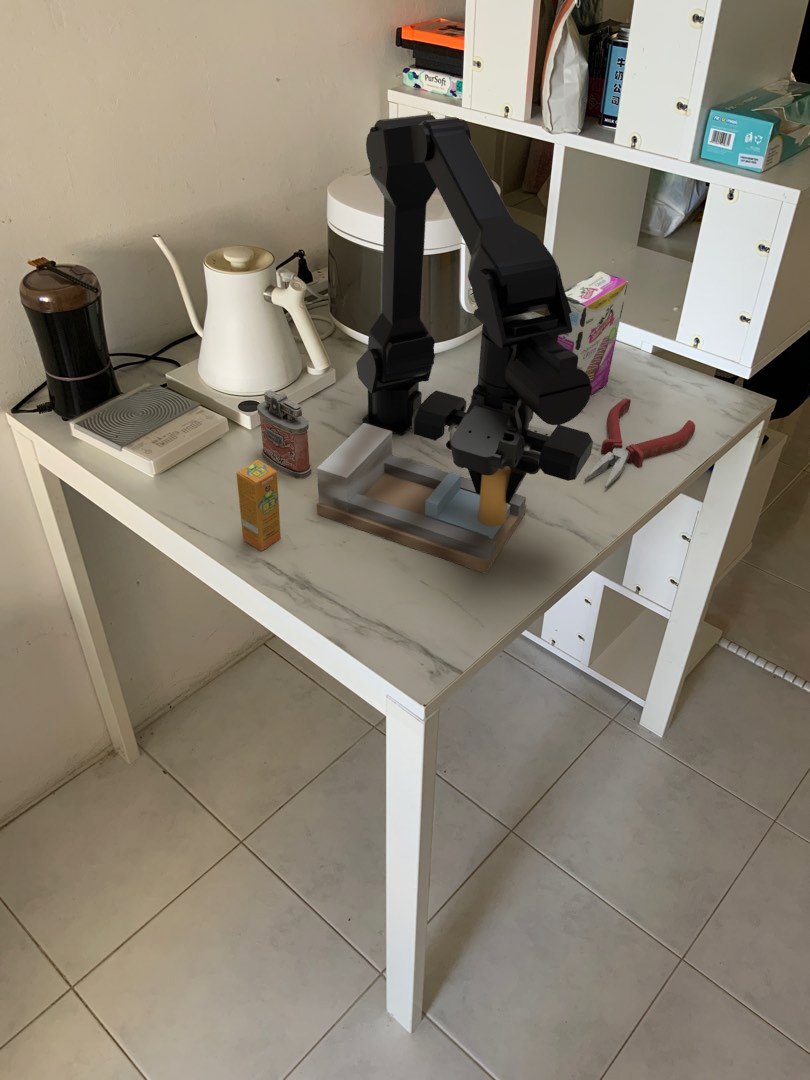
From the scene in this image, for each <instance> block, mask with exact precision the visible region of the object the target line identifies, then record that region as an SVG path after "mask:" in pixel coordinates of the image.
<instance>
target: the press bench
mask: <svg viewBox="0 0 810 1080" xmlns="http://www.w3.org/2000/svg"><path fill="white" fill-rule="evenodd" d="M448 473H449V472H448V471H445V470H441V469H438V468H436V467H432V466H429V465H425V464H423V463H419V462H416V461H412V460H409V459H407V458H403V457H401V456H396V455H393V432H392V431H389V430H386V429H383V428H379V427H376V426H373V425H369V424H366V423H362V424H361V425H360V426H358V428H356V429H355V431H354V432H353V433H352V434H350V435H349V437H347V438H346V439H345V440H344V441H343V442H342V443H341V444H340V445H339V446H338V447H337V448H336V449H335V450H334V451H333V452H332V453H331V454H330V455H329V456H328V457H327V458H326V459H325V460H323V462H321V463H320V465H318V466H317V468H316V476H317V492H318V502H317V503H316V512H317V513H316V514H317V516H318V515H319V516H321V517H323V518H324V517H325V518H327V519H330V520H333V521H335V522H338V523H341V524H344V525H347V526H349V527H353V528H355V529H358V530H360V531H363V532H367V533H370V534H372V535H375V536H377V537H381V538H383V539H387V540H389V541H391V542H395V543H398V544H401V545H403V546H405V547H409V548H411V549H414V550H418V551H420V552H423V553H426V554H428V555H431V556H434V557H438V558H440V559H443V560H445V561H449V562H452V563H454V564H458V565H460V566H462V567H465V568H469V569H472V570H475V571H477V572H480V573H483V574H486V573H488V570H489V569H490V567H491V566H492V564H493V563H494V561H495V560H496V558H497V557H498V555H499V553H501V551H502V549H503V548H504V546H505V545H506V543H507V542H508V540H509V539H510V538H511V535H512V534H513V533H514V531H515V530H516V529H517V527H518V525H519V524H520V522H522V519H523V518H524V516H525V515H526V510H527V504H526V499H527V497H526V496H524V495H521V494H518V493H515V495H514V497H513V499H512V500H511V502H510V503H509V505H511V507H510V514H509V516H508V517H507V519H506V521H505V522H504V523H503V525H502V526H501V527H500V529H499V530H498V532H497V533H496V535H495V536H494V538H493V539H491V538H488V537H485V536H482V535H479V534H476V533H473V532H470V531H467V530H464V529H461V528H458V527H455V526H452V525H449V524H446V523H443V522H440V521H437V520H434V519H432V518H429V517H426V516H425V505H426V500H427V499H428V497H429V496H430V495H431V494H432V493H433V491H434V490H435V489H436V488H437V487H438V485H439V484H440V483H441V482H442V480H443V479H444V478H445V477H446V476H447V474H448ZM460 489H462V490H465V491H469V492H472V493H475V494H477V493H476V491H475V488H474V485H473V482H472V480H471V478H467V477H463V476H461V486H460ZM478 495H480V494H478Z"/></svg>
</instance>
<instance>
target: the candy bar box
mask: <svg viewBox="0 0 810 1080" xmlns="http://www.w3.org/2000/svg"><path fill="white" fill-rule="evenodd" d="M628 285H629V280H626V279H623V278H621V277H618V276H615V275H612V274H609V273H605V272H603V271H597V272H596V273H594V274H593V275H590V276H589V277H587V278H585V279H584V280H582V281H579V282H578V283H576V284H574V285H572V286H571V287H569V288H567V289H564V290H565V293H566V296H567V299H568V302H569V305H570V308H571V311H572V313H571V314H569V316H570V320H571V325H572V332H571V333H568V334H563V335H559V336H558V341H557V342H558V343H560V344H561V345H562V346H563V347H565V348H566V349H569V350H571V351H572V352H573V353H575V354H576V355H577V356H578V365H577V366H578V367H579V368H581V369H582V370H583V371H584V372H585V373H586V374H587V375H588V377H589V379H590V383H591V386H592V392H591V395H590V397H591V396H592V395H593V394H595V393H596V392H598V391H599V390H601V389H602V388H603V387H604V386H606V385H607V384H608V380H609V375H610V370H611V366H612V360H613V356H614V351H615V350H614V349H615V345H616V341H617V338H618V337H617V336H618V332H619V331H618V330H619V327H620V322H621V318H622V313H623V307H624V304H625V303H624V302H625V299H626V293H627V288H628Z"/></svg>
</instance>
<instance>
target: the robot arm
mask: <svg viewBox="0 0 810 1080" xmlns="http://www.w3.org/2000/svg"><path fill="white" fill-rule="evenodd" d="M366 136H367V137H366V139H365V140H366V141H365V146H366V147H365V149H366V150H365V151H366V155H367V159H368V162H369V172H370V175H371V177H372V179H373V181H374V183H375V184H376V186H377V187H378V189H379V191H380V192H381V195H382V196H383V242H382V243H383V247H382V258H383V259H382V299H381V300H382V301H381V313H380V314H379V316H378V317H377V319H376V321H375V322H374V324H373V325H372V326H371V329H370V330H369V332H368V339H367V340H368V341H367V349H366V351H365V352H364V353H363V354H362V355H361V357H359V359H358V360H357V361H356V362H355V363H356V364H355V365H356V371H357V377H358V379H359V381H360V382H361V383H362V384H363V386H364V387H365V388H366V390H367V414H365V416H364V417H363V418H362V421H361V423H362V424H363V423H366V424H369V425H373V426H376V427H379V428H383V429H386V430H389V431H392V434H397V435H399V436H403V435H405V434H406V433H407V432H408V431H409V430H410V429H411V433H413V435H414V436H418V437H422V438H425V439H428V440H431V441H435V442H436V441H437V440H438V439H441V438H442V437H443V436H444V435H445V427H447V429H448V430H447V431H448V432H449V437H448V441H447V442H446V443H445V446H446V448H447V449H448V450H449V451H450V450H451V454H452V460H453V464H454V465H455V466H456V467H458V468H460V469H467V471H468V474H469V476H470V480H472V482H473V485H474V488H475V491H476V493H477V494H480V490H481V479H482V474H483V475H493V474H495V473H496V472H497V471H498V469H502V470H503V469H504V468H505V467H506V466H509V468H510V469H511V473H510V478H509V482H508V487H507V491H506V503H508V504H509V503H510V502H511V500H512V499H513V497H514V495H515V494H517V491H518V490H519V488H520V487H521V484H522V483H523V481H524V479H525V478H526V476H527V474H529V475H536V474H538V473H539V471H540V470H541V471H542V472H543V474H545V475H548V476H550V477H554V478H557V479H561V480H563V481H566V482H567V481H568V482H569V481H574V480H576V479H577V477H578V476H579V474H580V473H581V471H582V470H583V468H584V466H585V465H586V462H587V461H588V460H589V458H590V456H591V455H592V449H593V445H594V441H593V439H592V437H591V435H590V433H589V432H586V431H582V430H580V429H575V428H573V427H572V428H571V427H568V426H564V424H566V423H569V422H571V421H572V420H573V419H575V418H576V417H577V416H579V414H580V413H582V412H583V410H584V409H585V408H586V406H587V404H588V403H589V401H590V398H591V396H592V395H591V392H592V386H591V383H590V379H589V377H588V375H587V374H586V373H585V372H584V371H583V370H582V369H581V368H579V367H578V366H577V365H578V356H577V355H576V354H575V353H573V352H572V351H571V350H569V349H566V348H565V347H563V346H562V345H561V344H560V343H558V342H557V341H558V336H559V335H563V334H568V333H571V332H572V325H571V320H570V316H569V314H571V313H572V311H571V308H570V305H569V302H568V299H567V296H566V293H565V290H566V289H565V287H564V285H563V281H562V276H561V272H560V268H559V265H558V263H557V262H556V260H555V258H554V255H552V253H551V252H550V251H549V249H548V248H547V247H546V245H545V244H544V243H543V241H542V240H541V238H540V237H539V236H538V235H537V234H536V233H534V232H533V231H531V230H529V229H527V228H526V227H524V226H522V225H520V224H518V223H517V222H516V221H515V220H514V218H513V217H512V215H511V213H510V212H509V210H508V208H507V206H506V204H505V203H504V200H503V198H502V197H501V195H500V193H499V191H498V189H497V187H496V186H495V183H494V181H493V180H492V178H491V177H490V175H489V173H488V171H487V169H486V167H485V166H484V164H483V161H482V160H481V158H480V156H479V154H478V152H477V150H476V148H475V147H474V145H473V143H472V141H471V140H472V138H471V137H472V136H471V131H470V128H469V125H468V123H467V121H466V120H465V119H462V118H458V117H456V116H453V117H451V116H450V117H442V118H436V117H435V116H434V115H433V114H429V113H428V114H420V115H410V116H403V117H401V116H400V117H394V118H391V117H390V118H385V119H384V118H383V119H382V118H381V119H379V120H377V121H375V124H374V126H372V127H370V129H369V133H368V134H367V135H366ZM436 189H437V190H438V192H439V194H440V196H441V198H442V200H443V202H444V204H445V206H446V208H447V209H448V212H449V214H450V216H451V217H452V220H453V221H454V223H455V225H456V228H457V229H458V231H459V233H460V235H461V237H462V239H463V241H464V243H465V245H466V247H467V250H468V253H469V256H470V259H469V260H470V261H469V266H468V272H467V278H468V281H469V283H470V286H471V290H472V295H473V300H474V302H475V304H476V307H477V308H476V309H474V310H473V316H474V318H476V319H477V320H478V321H479V322H481V324H482V327H481V328H482V329H481V337H480V338H481V340H480V351H479V352H480V354H479V363H478V364H479V365H478V375H477V376H478V377H477V385H476V386H475V387H474V388H473V389H472V394H471V397H470V398H471V399H470V403H469V406H468V408H467V400H466V399H465V398H464V397H461V396H458V395H454V394H451V393H447V392H444V391H439V390H435V391H433V392H432V393H430V394H429V395H428V396H427V397H426V398H425V399H424V400H423V402H422V397H423V396H422V391H421V390H420V389H419V387H420V384H419V383H422V382H429V379H430V376H431V372H432V369H433V366H434V364H435V358H436V355H435V343H436V341H435V339H434V336H432V335H431V333H430V332H429V330H428V328H427V327H426V326H425V323H424V322H423V321H422V317H421V316H422V315H421V314H422V299H423V298H422V295H423V277H424V261H425V260H424V258H425V242H426V241H425V239H426V223H427V222H426V220H427V219H426V217H427V205H428V203H429V201H430V199H431V197H432V196H433V195H434V193H435V191H436ZM546 309H547V311H548V312H549V314H547V315H546V314H545V315H542V316H538V317H533V318H528V317H526V316H525V315H524V314H528V313H534V312H538V311H544V310H546ZM590 395H591V396H590ZM534 414H535V415H536V416H537V417H538V418H539V419H541V421H543V423H546V424H547V425H549V426H550V425H551V426H556V427H555V429H554V430H553V431H550V430H546V429H542V428H538V427H532V428H529V427H530V422H531V421H532V420H533V419H534Z"/></svg>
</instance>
